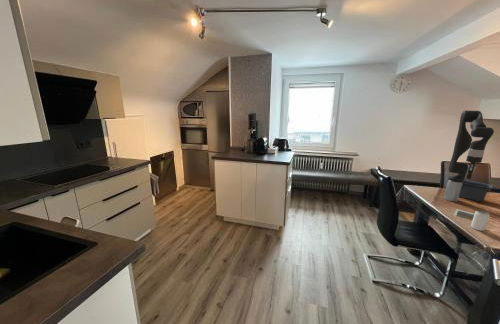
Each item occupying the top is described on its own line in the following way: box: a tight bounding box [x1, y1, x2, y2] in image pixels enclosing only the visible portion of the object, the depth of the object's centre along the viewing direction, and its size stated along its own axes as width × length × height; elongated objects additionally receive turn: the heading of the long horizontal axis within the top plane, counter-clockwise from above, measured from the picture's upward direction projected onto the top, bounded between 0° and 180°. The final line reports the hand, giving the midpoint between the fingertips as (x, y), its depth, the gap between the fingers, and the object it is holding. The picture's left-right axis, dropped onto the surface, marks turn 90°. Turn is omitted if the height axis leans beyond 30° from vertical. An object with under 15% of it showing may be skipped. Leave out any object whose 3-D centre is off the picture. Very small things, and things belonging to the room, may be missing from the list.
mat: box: [452, 208, 475, 222], centre depth 152 cm, size 16×12×1 cm
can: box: [470, 209, 490, 232], centre depth 134 cm, size 6×6×12 cm
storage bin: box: [459, 179, 493, 203], centre depth 182 cm, size 21×16×14 cm
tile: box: [455, 210, 474, 221], centre depth 150 cm, size 2×9×7 cm
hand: (468, 178), depth 151 cm, fingers closed
